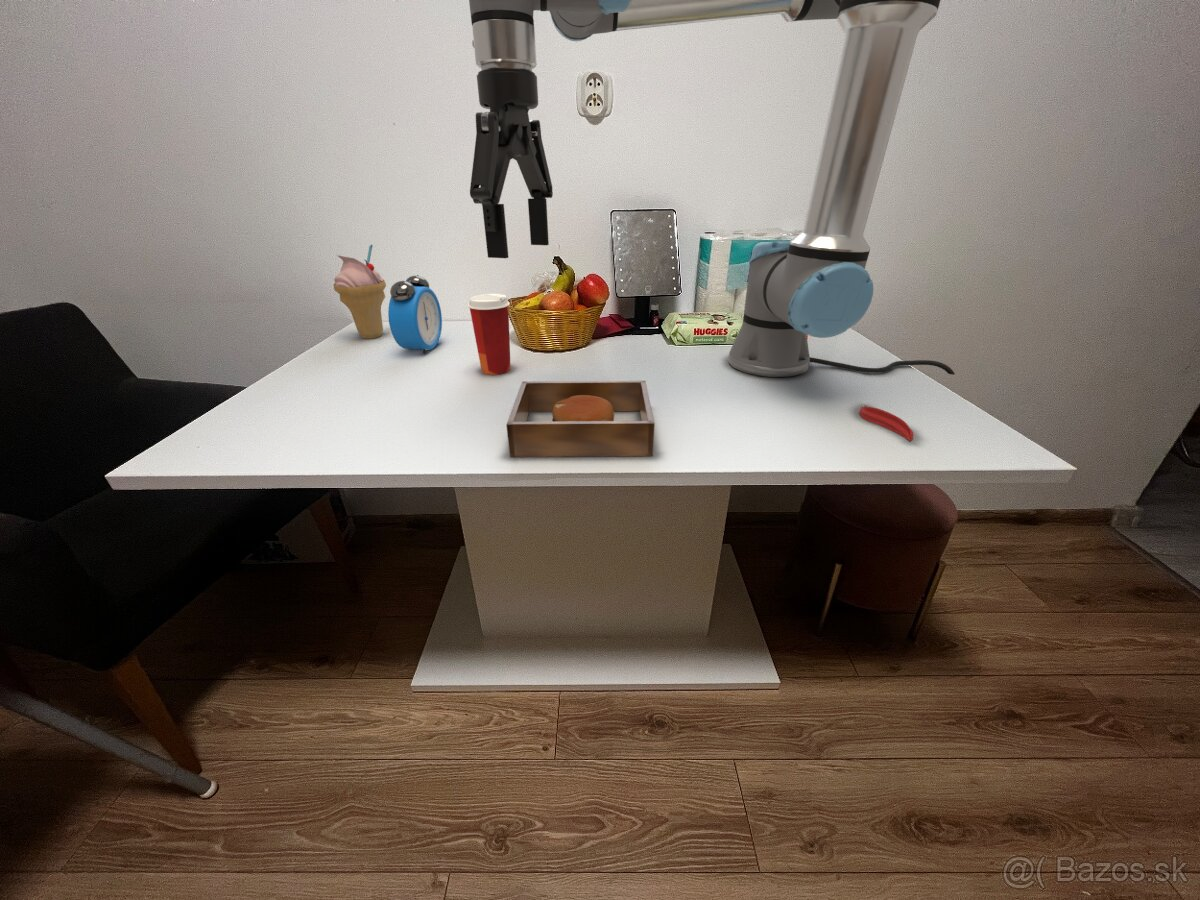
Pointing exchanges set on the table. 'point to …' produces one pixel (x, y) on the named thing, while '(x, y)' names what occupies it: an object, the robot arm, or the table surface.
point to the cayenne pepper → (886, 421)
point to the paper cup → (491, 331)
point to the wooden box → (580, 434)
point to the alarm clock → (414, 314)
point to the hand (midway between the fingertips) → (520, 251)
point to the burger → (583, 409)
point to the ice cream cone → (362, 294)
